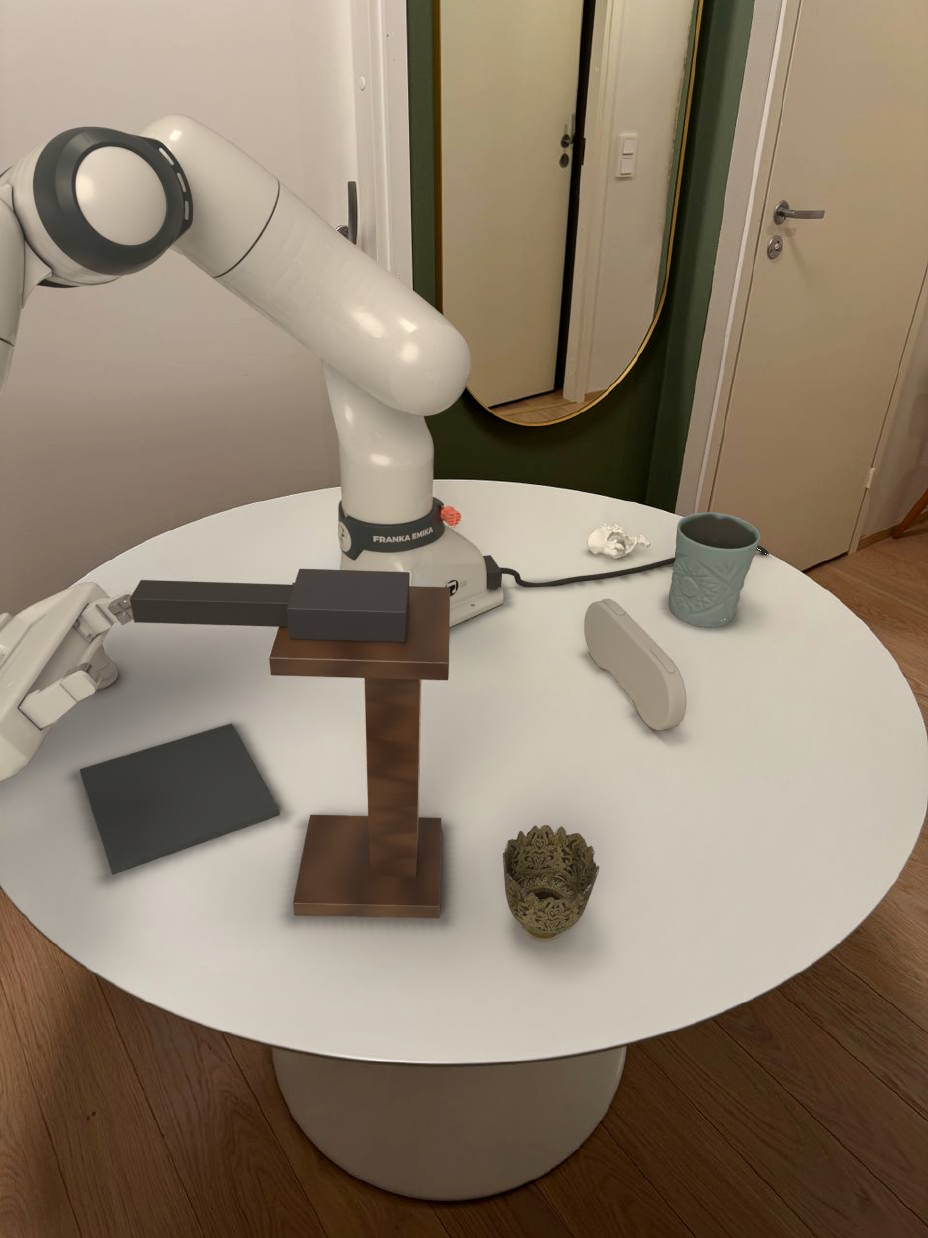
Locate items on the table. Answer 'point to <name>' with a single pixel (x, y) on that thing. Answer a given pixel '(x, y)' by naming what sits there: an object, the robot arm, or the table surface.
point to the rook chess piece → (104, 668)
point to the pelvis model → (600, 544)
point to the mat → (175, 796)
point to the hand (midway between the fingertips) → (116, 636)
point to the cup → (548, 880)
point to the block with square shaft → (287, 604)
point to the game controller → (635, 664)
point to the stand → (377, 772)
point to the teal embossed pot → (710, 567)
